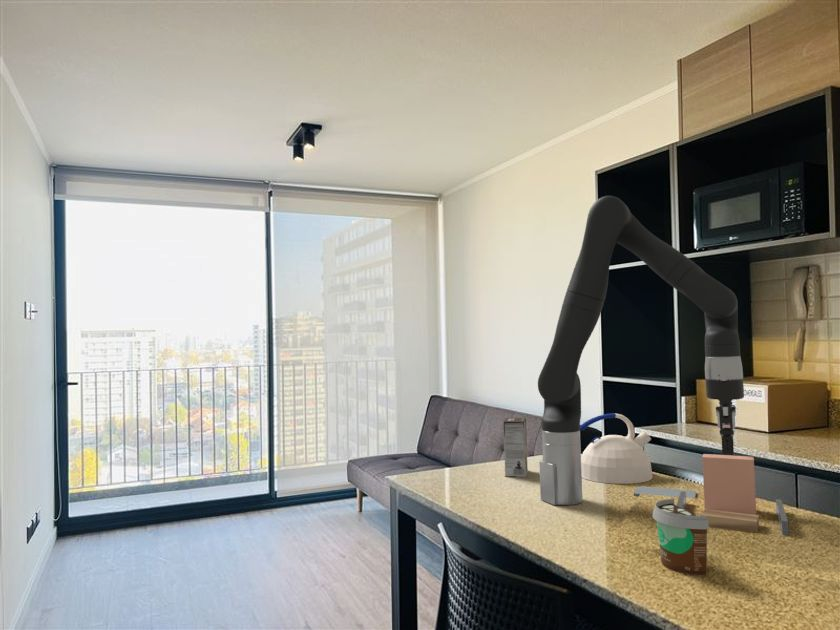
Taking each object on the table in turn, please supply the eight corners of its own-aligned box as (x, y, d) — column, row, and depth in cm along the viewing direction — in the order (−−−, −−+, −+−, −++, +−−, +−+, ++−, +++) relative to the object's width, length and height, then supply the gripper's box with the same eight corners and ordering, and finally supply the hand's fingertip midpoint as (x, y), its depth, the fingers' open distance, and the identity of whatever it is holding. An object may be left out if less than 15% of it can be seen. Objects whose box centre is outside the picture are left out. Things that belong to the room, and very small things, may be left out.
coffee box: (506, 470, 189) (505, 417, 190) (528, 470, 188) (526, 417, 189) (504, 476, 180) (503, 421, 181) (527, 477, 179) (525, 421, 180)
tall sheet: (756, 521, 132) (753, 459, 133) (705, 516, 137) (702, 457, 137) (755, 516, 136) (753, 456, 136) (705, 512, 140) (703, 453, 141)
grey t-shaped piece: (694, 500, 149) (694, 498, 149) (633, 495, 156) (633, 493, 156) (696, 493, 157) (696, 490, 157) (638, 488, 163) (637, 486, 163)
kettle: (665, 483, 168) (662, 416, 169) (588, 485, 168) (586, 418, 169) (639, 468, 188) (637, 408, 189) (571, 469, 188) (569, 410, 189)
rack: (788, 542, 118) (787, 521, 118) (675, 530, 127) (674, 510, 127) (782, 518, 134) (781, 499, 134) (681, 509, 143) (680, 491, 143)
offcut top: (757, 532, 121) (756, 521, 121) (701, 524, 126) (701, 514, 126) (759, 525, 125) (758, 515, 125) (705, 518, 130) (704, 509, 130)
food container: (642, 554, 114) (640, 499, 114) (674, 552, 114) (672, 497, 115) (675, 580, 102) (672, 518, 102) (711, 578, 102) (708, 516, 103)
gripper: (706, 375, 145) (710, 444, 145) (704, 379, 133) (708, 455, 132) (742, 374, 142) (746, 446, 141) (743, 379, 129) (748, 457, 129)
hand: (728, 450), depth 137 cm, fingers open, 8 cm apart
